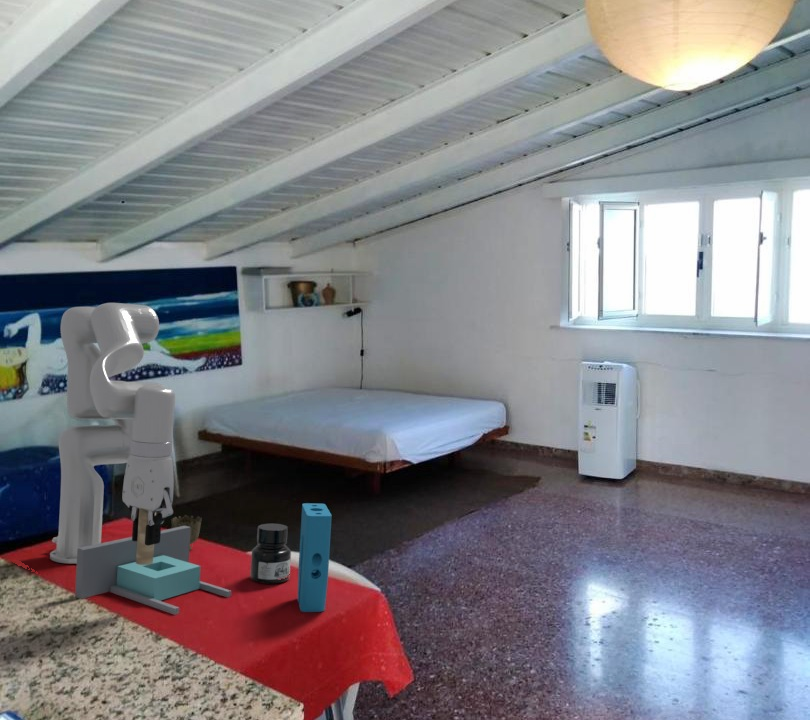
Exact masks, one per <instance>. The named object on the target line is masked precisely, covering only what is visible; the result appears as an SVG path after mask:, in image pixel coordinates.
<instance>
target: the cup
mask: <svg viewBox="0 0 810 720" xmlns="http://www.w3.org/2000/svg"><path fill="white" fill-rule="evenodd" d="M172 517H173V516H172ZM202 519H203V518H202V517H200V516H196V518H194V516H193V515H190V516H189V515H187V514H185V515H183V516H180V515H179V516H178V517H177V516H174V517H173V518H171V521H170V522H171V528H176V527H181V526H188V527H191V532H190V544H192V546H191V547H190V550H192V549H193V544H194V543H196V541H197V540H198V538H199V534H200V530H201V525H202Z"/></svg>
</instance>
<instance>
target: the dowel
mask: <svg viewBox="0 0 810 720" xmlns="http://www.w3.org/2000/svg"><path fill="white" fill-rule="evenodd" d="M156 514H157V512H155V515H156ZM146 525H149V523H148V511H147V510H143V509H140V508H139V521H138V538H137V554H136V564H139V565H149V564H152V563H153V555H154V544H153V545H149V546H147V545H145V534H146Z"/></svg>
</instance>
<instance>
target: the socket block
mask: <svg viewBox="0 0 810 720" xmlns="http://www.w3.org/2000/svg"><path fill="white" fill-rule="evenodd" d="M201 568H202V567H201V565H199V564H195V563H192V562H189V563H188V562H185V561H182V560H178V559H175V558H171V557H168V556H165V555H162V556H158V557H154V558H153V563H152V564H149V565H139V564H136V562H133V563H129V564H125V565H121V566H118V568H117V586H118V587H121V588H124V589H127V590H130V591H133V592H136V593H139V594H142V595H144V596H147V597H150V598H153V599H156V600H159V601H163V600H167V599H170V598H173V597H177V596H180V595H183V594H186V593H190V592H193V591H196V590H199V585H200V581H201Z"/></svg>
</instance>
